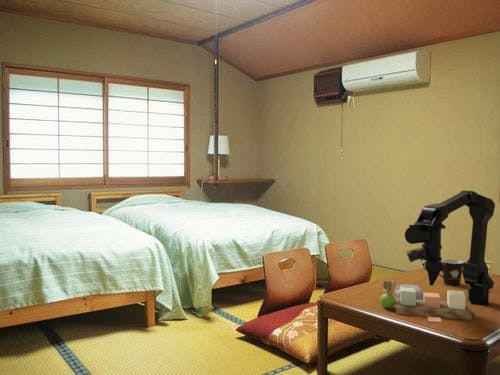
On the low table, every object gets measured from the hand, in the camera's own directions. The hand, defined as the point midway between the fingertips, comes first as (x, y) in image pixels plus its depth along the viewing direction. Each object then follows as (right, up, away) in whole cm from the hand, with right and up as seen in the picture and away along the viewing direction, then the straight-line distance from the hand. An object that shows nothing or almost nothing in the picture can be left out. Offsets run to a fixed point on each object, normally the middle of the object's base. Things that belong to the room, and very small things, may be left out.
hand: (431, 285), depth 158 cm
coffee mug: (+22, -8, +37) cm, 44 cm away
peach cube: (0, -9, +1) cm, 9 cm away
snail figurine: (-14, -10, +5) cm, 17 cm away
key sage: (-8, -7, +3) cm, 11 cm away
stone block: (-1, -9, +20) cm, 22 cm away
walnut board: (0, -10, +1) cm, 10 cm away
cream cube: (+8, -7, -2) cm, 11 cm away
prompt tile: (-2, -10, -8) cm, 13 cm away
